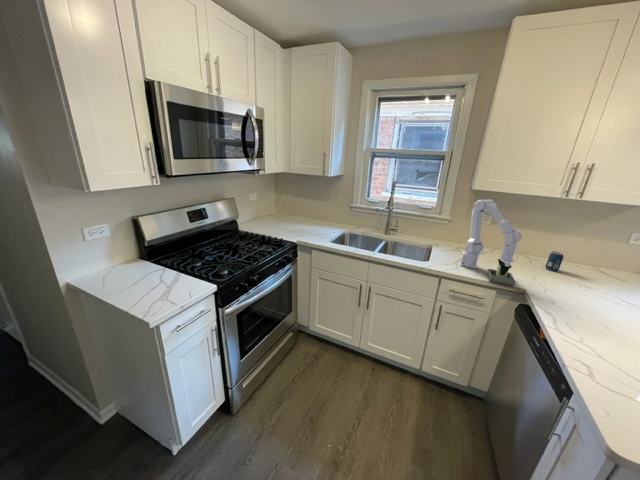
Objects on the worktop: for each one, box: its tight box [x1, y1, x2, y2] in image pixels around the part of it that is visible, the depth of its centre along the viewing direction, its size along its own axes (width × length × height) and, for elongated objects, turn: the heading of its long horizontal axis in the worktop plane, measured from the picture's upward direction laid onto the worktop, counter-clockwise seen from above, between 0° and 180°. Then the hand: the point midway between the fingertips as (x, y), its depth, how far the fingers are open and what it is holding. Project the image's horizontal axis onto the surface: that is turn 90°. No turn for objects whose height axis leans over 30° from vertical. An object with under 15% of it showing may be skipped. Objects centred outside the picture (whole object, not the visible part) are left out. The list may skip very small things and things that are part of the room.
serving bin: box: [486, 268, 516, 288], centre depth 157 cm, size 12×12×4 cm
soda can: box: [544, 251, 564, 273], centre depth 174 cm, size 7×7×12 cm
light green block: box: [496, 263, 510, 278], centre depth 156 cm, size 5×5×6 cm
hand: (501, 273), depth 156 cm, fingers closed on light green block, 4 cm apart
